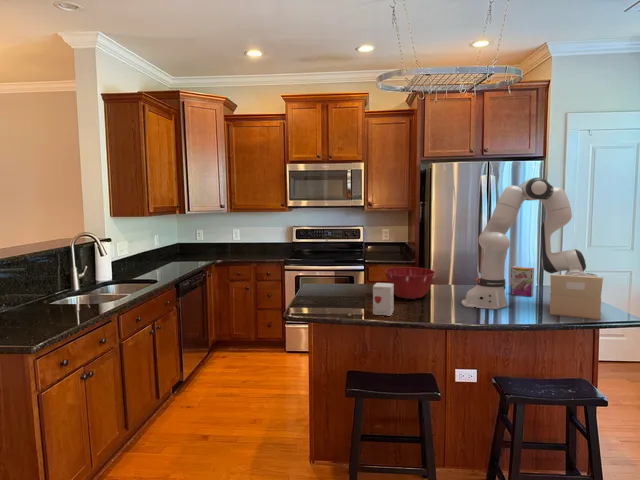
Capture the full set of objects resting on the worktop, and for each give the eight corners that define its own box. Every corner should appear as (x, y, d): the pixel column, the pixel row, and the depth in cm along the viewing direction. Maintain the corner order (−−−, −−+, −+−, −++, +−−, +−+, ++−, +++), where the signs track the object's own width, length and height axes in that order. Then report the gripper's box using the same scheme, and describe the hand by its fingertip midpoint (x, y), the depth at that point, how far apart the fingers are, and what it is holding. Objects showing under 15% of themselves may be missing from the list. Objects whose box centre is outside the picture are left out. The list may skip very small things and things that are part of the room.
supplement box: (372, 315, 201) (372, 285, 200) (376, 311, 210) (376, 282, 208) (390, 317, 198) (390, 286, 197) (394, 312, 206) (393, 283, 205)
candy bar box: (510, 295, 237) (510, 267, 236) (512, 293, 241) (513, 265, 240) (531, 297, 230) (532, 268, 229) (533, 295, 234) (534, 267, 233)
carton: (551, 306, 209) (551, 287, 209) (598, 311, 199) (599, 291, 198) (549, 314, 196) (550, 293, 195) (600, 319, 185) (601, 298, 185)
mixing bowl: (445, 297, 236) (445, 270, 235) (412, 305, 219) (412, 277, 218) (407, 289, 259) (407, 265, 257) (374, 296, 242) (374, 270, 240)
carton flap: (550, 274, 185) (550, 275, 185) (602, 277, 175) (603, 278, 175) (550, 294, 195) (550, 295, 195) (600, 298, 185) (600, 299, 184)
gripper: (550, 271, 202) (549, 276, 190) (600, 274, 192) (603, 280, 180) (550, 284, 203) (549, 290, 191) (600, 288, 192) (602, 294, 180)
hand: (576, 285), depth 185 cm, fingers closed, pressing on carton flap
